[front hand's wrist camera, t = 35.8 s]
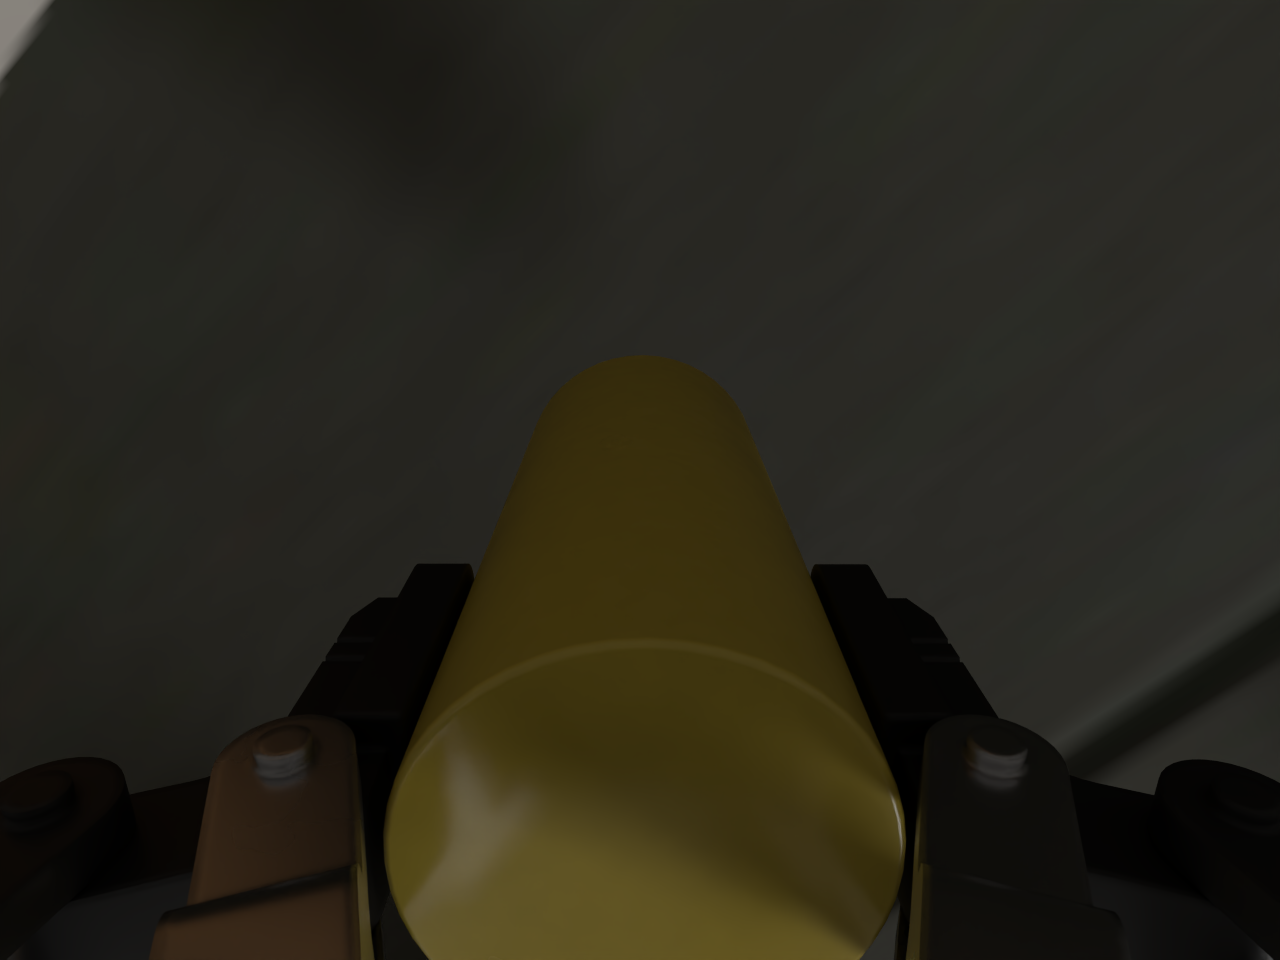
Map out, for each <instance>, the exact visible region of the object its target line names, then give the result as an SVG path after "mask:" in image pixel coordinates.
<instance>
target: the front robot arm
mask: <svg viewBox="0 0 1280 960" xmlns="http://www.w3.org/2000/svg"><path fill="white" fill-rule="evenodd" d="M811 580H812V582H813V584H814V587H815V589H816V592H817V594H818V597H819V599H820V601H821V604H822V606H823V609H824V611H825V613H826V616H827V618H828V621H829V623H830V625H831V628H832V630H833V633H834V635H835V637H836V640H837V642H838V645H839V647H840V649H841V652H842V654H843V657H844V659H845V661H846V664H847V666H848V669H849V671H850V673H851V676H852V678H853V681H854V683H855V686H856V688H857V690H858V693H859V695H860V698H861V700H862V702H863V705H864V707H865V710H866V712H867V714H868V717H869V719H870V722H871V724H872V726H873V729H874V731H875V734H876V736H877V738H878V741H879V743H880V746H881V748H882V750H883V753H884V755H885V758H886V760H887V762H888V765H889V767H890V770H891V772H892V775H893V777H894V779H895V782H896V784H897V787H898V791H899V795H900V799H901V803H902V806H903V810H904V818H905V829H906V849H905V861H904V870H903V874H902V878H901V882H900V886H899V890H898V894H897V896H898V899H899V902H900V911H899V917H898V924H897V931H896V941H895V953H894V960H1280V783H1279V782H1277V781H1275V780H1273V779H1271V778H1269V777H1266V776H1264V775H1262V774H1260V773H1257V772H1255V771H1252V770H1249V769H1246V768H1243V767H1240V766H1236V765H1233V764H1229V763H1224V762H1219V761H1212V760H1184V761H1179V762H1176V763H1173V764H1171V765H1169V766H1168V767H1166V768H1165V769H1164V770H1163V771H1162V772H1161V775H1160V777H1159V780H1158V784H1157V787H1156V791H1155V795H1150V794H1146V793H1141V792H1136V791H1132V790H1127V789H1122V788H1118V787H1113V786H1108V785H1104V784H1099V783H1095V782H1091V781H1087V780H1083V779H1080V778H1077V777H1074V776H1071V775H1069V771H1068V768H1067V765H1066V762H1065V761H1064V759H1063V757H1062V756H1061V754H1060V753H1059V752H1058V751H1057V750H1056V749H1055V748H1054V747H1053V746H1052V745H1051V744H1050V743H1049V742H1048V741H1047V740H1045V739H1044V738H1042V737H1041V736H1039V735H1038V734H1036V733H1034V732H1033V731H1031V730H1029V729H1027V728H1025V727H1023V726H1021V725H1018V724H1016V723H1013V722H1010V721H1007V720H1004V719H1000V718H998V716H997V715H996V713H995V712H994V710H993V709H992V707H991V705H990V704H989V702H988V701H987V699H986V698H985V696H984V695H983V693H982V691H981V690H980V688H979V687H978V685H977V684H976V682H975V681H974V679H973V678H972V676H971V674H970V673H969V671H968V670H967V668H966V667H965V665H964V664H963V662H960V657H959V656H958V654H957V653H956V651H955V650H954V648H953V647H952V645H951V644H948V639H947V637H946V636H945V634H944V633H943V631H942V630H941V628H940V626H939V625H938V623H937V622H936V620H935V619H934V617H932V616H931V615H930V614H928V613H927V612H925V611H924V610H922V609H921V608H920V607H918V606H917V605H915V604H914V603H912V602H911V601H910V600H908V599H907V598H887V597H886V595H885V593H884V592H883V590H882V588H881V586H880V584H879V583H878V581H877V579H876V577H875V576H874V574H873V572H872V570H871V569H870V567H869V566H868V565H866V564H815V565H814V567H813V569H812V572H811ZM473 582H474V575H473V570H472V567H471V565H470V564H417V565H416V566H415V567H414V569H413V571H412V573H411V574H410V576H409V578H408V580H407V582H406V583H405V585H404V587H403V589H402V591H401V592H400V594H399V596H398V598H377V599H376V600H374V601H373V602H371V603H370V604H368V605H367V606H366V607H364V608H363V609H361V610H360V611H358V612H357V613H356V614H354V615H353V616H351V618H350V619H349V621H348V623H347V624H346V626H345V627H344V629H343V630H342V632H341V634H340V635H339V637H338V638H337V643H334V645H333V646H332V648H331V649H330V651H329V652H328V654H327V656H326V661H323V662H322V663H321V665H320V667H319V668H318V670H317V671H316V673H315V674H314V676H313V678H312V679H311V681H310V682H309V684H308V685H307V687H306V689H305V690H304V692H303V693H302V695H301V696H300V698H299V700H298V701H297V703H296V704H295V706H294V707H293V709H292V711H291V712H290V714H289V715H288V717H284V718H280V719H276V720H273V721H270V722H267V723H264V724H262V725H259V726H257V727H255V728H253V729H251V730H249V731H247V732H246V733H244V734H242V735H241V736H239V737H238V738H236V739H235V740H233V741H232V742H231V743H230V744H229V745H228V746H227V747H226V748H225V749H224V750H223V751H222V752H221V753H220V754H219V756H218V757H217V759H216V761H215V762H214V765H213V768H212V771H211V776H209V777H206V778H202V779H199V780H195V781H191V782H186V783H181V784H177V785H172V786H167V787H163V788H158V789H153V790H149V791H144V792H139V793H135V794H130V795H129V792H128V788H127V784H126V781H125V777H124V774H123V772H122V770H121V769H120V768H119V767H118V765H116V764H115V763H113V762H111V761H109V760H105V759H102V758H94V757H77V758H68V759H62V760H57V761H52V762H49V763H45V764H42V765H38V766H36V767H33V768H30V769H28V770H25V771H22V772H20V773H18V774H16V775H14V776H11V777H9V778H7V779H6V780H4V781H2V782H0V960H386V953H385V941H384V931H383V924H382V917H381V915H382V912H383V910H384V907H385V904H386V901H387V898H388V895H389V892H390V888H389V883H388V878H387V873H386V868H385V863H384V847H383V828H384V821H385V814H386V807H387V803H388V799H389V796H390V793H391V790H392V787H393V784H394V780H395V777H396V775H397V772H398V770H399V767H400V765H401V762H402V760H403V757H404V755H405V752H406V750H407V747H408V745H409V742H410V740H411V737H412V735H413V732H414V730H415V727H416V725H417V722H418V720H419V717H420V715H421V712H422V710H423V707H424V705H425V702H426V700H427V697H428V695H429V692H430V690H431V687H432V685H433V682H434V680H435V677H436V675H437V672H438V670H439V667H440V665H441V662H442V660H443V657H444V655H445V652H446V650H447V647H448V645H449V642H450V640H451V637H452V635H453V632H454V630H455V627H456V625H457V622H458V620H459V617H460V615H461V612H462V610H463V607H464V605H465V602H466V600H467V597H468V595H469V592H470V590H471V587H472V585H473Z"/></svg>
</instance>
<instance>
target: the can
mask: <svg viewBox="0 0 1280 960" xmlns="http://www.w3.org/2000/svg"><path fill="white" fill-rule="evenodd" d="M383 847H384V863H385V868H386V873H387V878H388V883H389V888H390V891H391V894H392V897H393V899H394V902H395V905H396V907H397V910H398V913H399V915H400V917H401V919H402V920H403V922H404V924H405V926H406V928H407V929H408V931H409V933H410V935H411V936H412V938H413V939H414V941H415V942H416V943H417V945H418V946H419V947H420V949H421V950H422V951H423V952H424V954H425V955H426V956H427V958H428V959H429V960H859V959H860V958H861V957H862V956H863V954H864V953H865V952H866V951H867V949H868V948H869V947H870V946H871V945H872V943H873V942H874V940H875V938H876V937H877V935H878V934H879V932H880V930H881V929H882V927H883V926H884V924H885V922H886V921H887V918H888V916H889V914H890V911H891V909H892V907H893V904H894V902H895V900H896V897H897V894H898V890H899V886H900V882H901V878H902V874H903V870H904V861H905V849H906V829H905V818H904V810H903V806H902V803H901V799H900V795H899V791H898V787H897V784H896V782H895V779H894V777H893V775H892V772H891V770H890V767H889V765H888V762H887V760H886V758H885V755H884V753H883V750H882V748H881V746H880V743H879V741H878V738H877V736H876V734H875V731H874V729H873V726H872V724H871V722H870V719H869V717H868V714H867V712H866V710H865V707H864V705H863V702H862V700H861V698H860V695H859V693H858V690H857V688H856V686H855V683H854V681H853V678H852V676H851V673H850V671H849V669H848V666H847V664H846V661H845V659H844V657H843V654H842V652H841V649H840V647H839V645H838V642H837V640H836V637H835V635H834V633H833V630H832V628H831V625H830V623H829V621H828V618H827V616H826V613H825V611H824V609H823V606H822V604H821V601H820V599H819V597H818V594H817V592H816V589H815V587H814V584H813V582H812V580H811V577H810V575H809V572H808V570H807V568H806V565H805V563H804V560H803V558H802V556H801V553H800V551H799V548H798V546H797V544H796V541H795V539H794V536H793V534H792V532H791V529H790V527H789V524H788V522H787V520H786V517H785V515H784V512H783V510H782V508H781V505H780V503H779V500H778V498H777V495H776V493H775V491H774V488H773V486H772V483H771V481H770V479H769V476H768V474H767V471H766V469H765V467H764V464H763V462H762V459H761V457H760V455H759V452H758V450H757V447H756V445H755V443H754V440H753V438H752V435H751V433H750V431H749V428H748V426H747V424H746V421H745V419H744V417H743V415H742V413H741V411H740V409H739V408H738V406H737V405H736V403H735V401H734V400H733V399H732V398H731V397H730V395H729V394H728V393H727V392H726V391H725V390H724V389H723V388H722V387H721V386H720V385H719V384H718V383H717V382H716V381H715V380H713V379H712V378H710V377H709V376H707V375H706V374H705V373H703V372H702V371H700V370H698V369H696V368H694V367H692V366H690V365H688V364H685V363H682V362H679V361H676V360H673V359H669V358H664V357H659V356H647V355H638V356H626V357H620V358H614V359H611V360H608V361H604V362H601V363H598V364H596V365H594V366H592V367H590V368H588V369H586V370H584V371H582V372H581V373H579V374H578V375H576V376H575V377H573V378H572V379H571V380H569V381H568V382H567V383H566V384H565V385H563V386H562V387H561V388H560V389H559V390H558V392H557V393H556V394H555V395H554V396H553V397H552V398H551V400H550V401H549V403H548V404H547V406H546V407H545V409H544V410H543V412H542V414H541V416H540V418H539V420H538V422H537V424H536V427H535V429H534V432H533V435H532V437H531V440H530V442H529V445H528V447H527V450H526V452H525V455H524V457H523V460H522V462H521V465H520V467H519V470H518V472H517V475H516V477H515V480H514V482H513V485H512V487H511V490H510V492H509V495H508V497H507V500H506V502H505V505H504V507H503V510H502V512H501V515H500V517H499V520H498V522H497V525H496V527H495V530H494V532H493V535H492V537H491V540H490V542H489V545H488V547H487V550H486V552H485V555H484V557H483V560H482V562H481V565H480V567H479V570H478V572H477V575H476V577H475V580H474V582H473V585H472V587H471V590H470V592H469V595H468V597H467V600H466V602H465V605H464V607H463V610H462V612H461V615H460V617H459V620H458V622H457V625H456V627H455V630H454V632H453V635H452V637H451V640H450V642H449V645H448V647H447V650H446V652H445V655H444V657H443V660H442V662H441V665H440V667H439V670H438V672H437V675H436V677H435V680H434V682H433V685H432V687H431V690H430V692H429V695H428V697H427V700H426V702H425V705H424V707H423V710H422V712H421V715H420V717H419V720H418V722H417V725H416V727H415V730H414V732H413V735H412V737H411V740H410V742H409V745H408V747H407V750H406V752H405V755H404V757H403V760H402V762H401V765H400V767H399V770H398V772H397V775H396V777H395V780H394V784H393V787H392V790H391V793H390V796H389V799H388V803H387V807H386V814H385V821H384V828H383Z"/></svg>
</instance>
